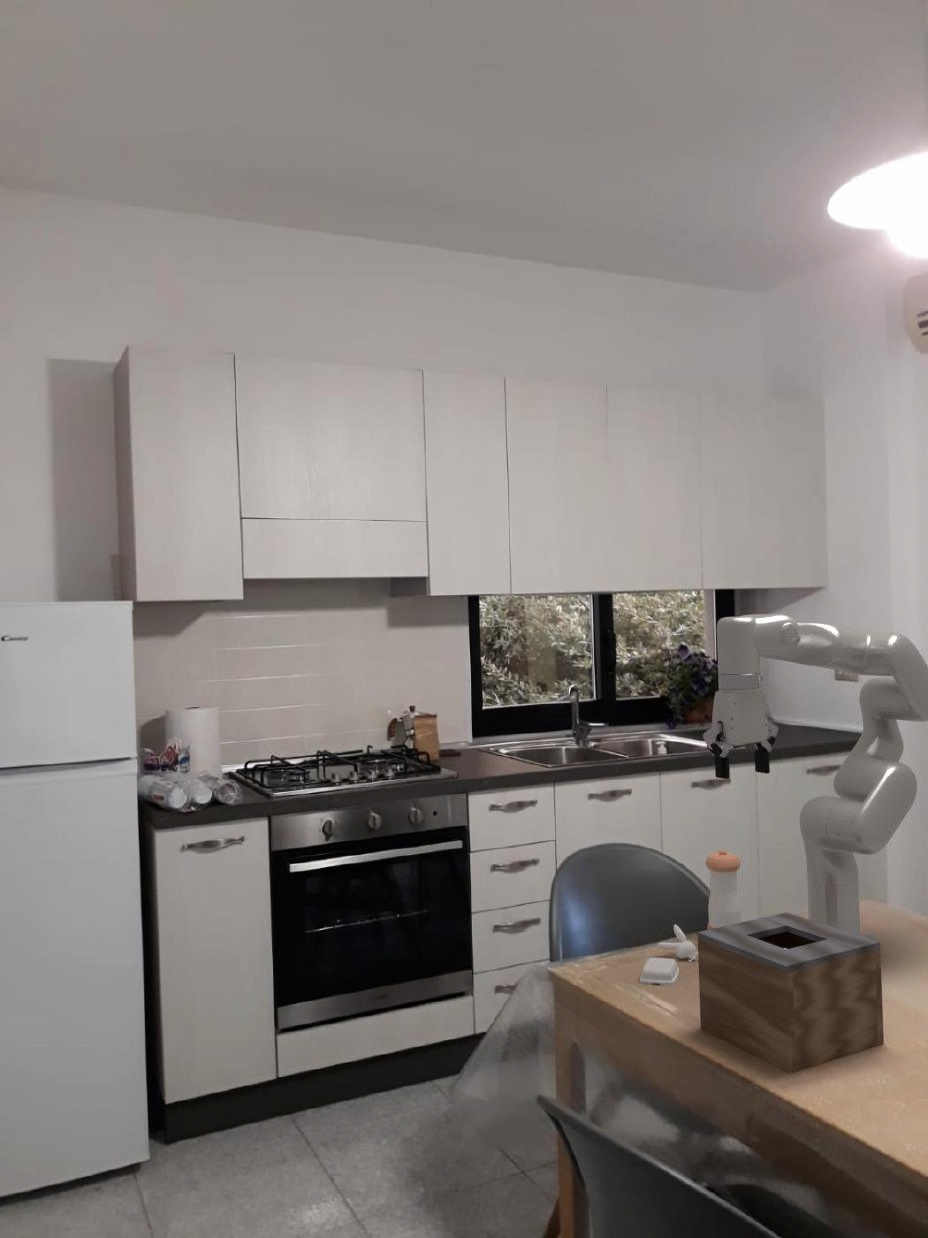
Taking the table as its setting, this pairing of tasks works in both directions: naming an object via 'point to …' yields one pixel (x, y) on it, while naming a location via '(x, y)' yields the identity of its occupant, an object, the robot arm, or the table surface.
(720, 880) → the pepper shaker
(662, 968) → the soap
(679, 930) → the rabbit figurine
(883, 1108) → the table surface
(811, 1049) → the slot box
